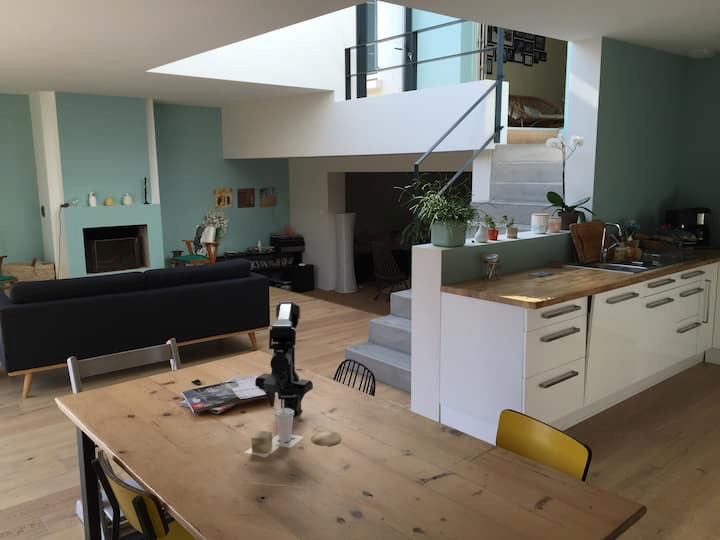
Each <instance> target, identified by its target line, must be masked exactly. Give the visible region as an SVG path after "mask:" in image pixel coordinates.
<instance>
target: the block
mask: <svg viewBox="0 0 720 540" xmlns="http://www.w3.org/2000/svg"><path fill="white" fill-rule="evenodd" d="M272 438H273V432H272V431H266V430H265V431H264V430H256V431H255V433H254V434H253V435H252V436H251V447H252V453H266V454H267V453H268V452H269V450H270V449H271V448H272V445H273V444H272Z"/></svg>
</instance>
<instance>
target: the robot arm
mask: <svg viewBox="0 0 720 540" xmlns="http://www.w3.org/2000/svg"><path fill="white" fill-rule="evenodd" d="M275 318H276V320H275V321H273V322H272V325H271V328H269V336H268V337H269V339H268V340H269V341H268V350H273V354H272V356H271V359H270V368H271V373H266V372H264V373H262V374H260V375H259V376H257V377H256V378H255V380H254V385H255V387H258V389H259V390H261V391H262V392H264V394H265V395H266V397H267V400H268V403H269V406H270V407H271V408H272V407H274V406H275V398H276V393H277V399H278V400H280V409H282V400H283V399H284V408H290V409H293V410H294V416H293V418H295V417H297V416H298V415H299V414H301V413H302V412H303V411H304V410H303V409H302V401H303V399H304V396H305V395H306V394H308V393H309V392H310V391H311V390H313V389H314V386H313V385H314V384H313V382H312V380H310V379H302V378H301V379H300V376H299V374H298V372H297V371H296V351H295V350H296V347H295V346H297V345H296V344H297V343H296V341H297V332H296V328H297V326H298V325H299V323H300V321H299V320H301V307H300V305H298V304H296V303H294V301H291V300H290V301H289V300H285V301H284V300H283V301H279V302H278V305H277V306H276V307H275Z"/></svg>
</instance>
